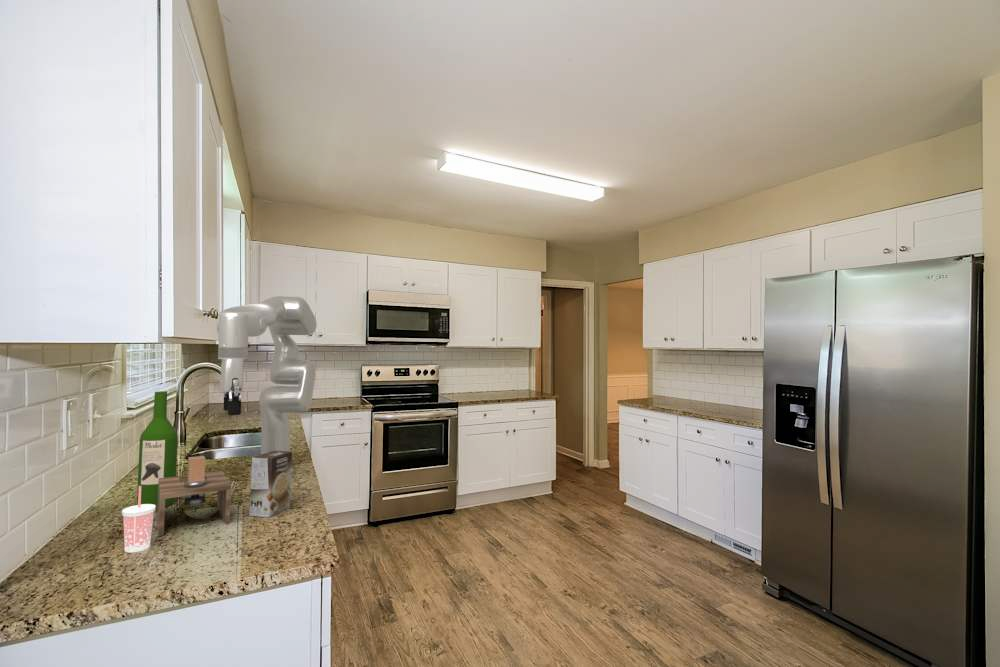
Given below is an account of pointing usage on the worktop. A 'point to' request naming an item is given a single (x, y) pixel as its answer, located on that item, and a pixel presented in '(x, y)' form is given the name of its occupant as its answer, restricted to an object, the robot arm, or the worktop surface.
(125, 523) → the beverage cup
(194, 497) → the keyhole pin
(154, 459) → the wine bottle
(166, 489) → the keyhole plate
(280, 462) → the coffee box
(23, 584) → the worktop surface
